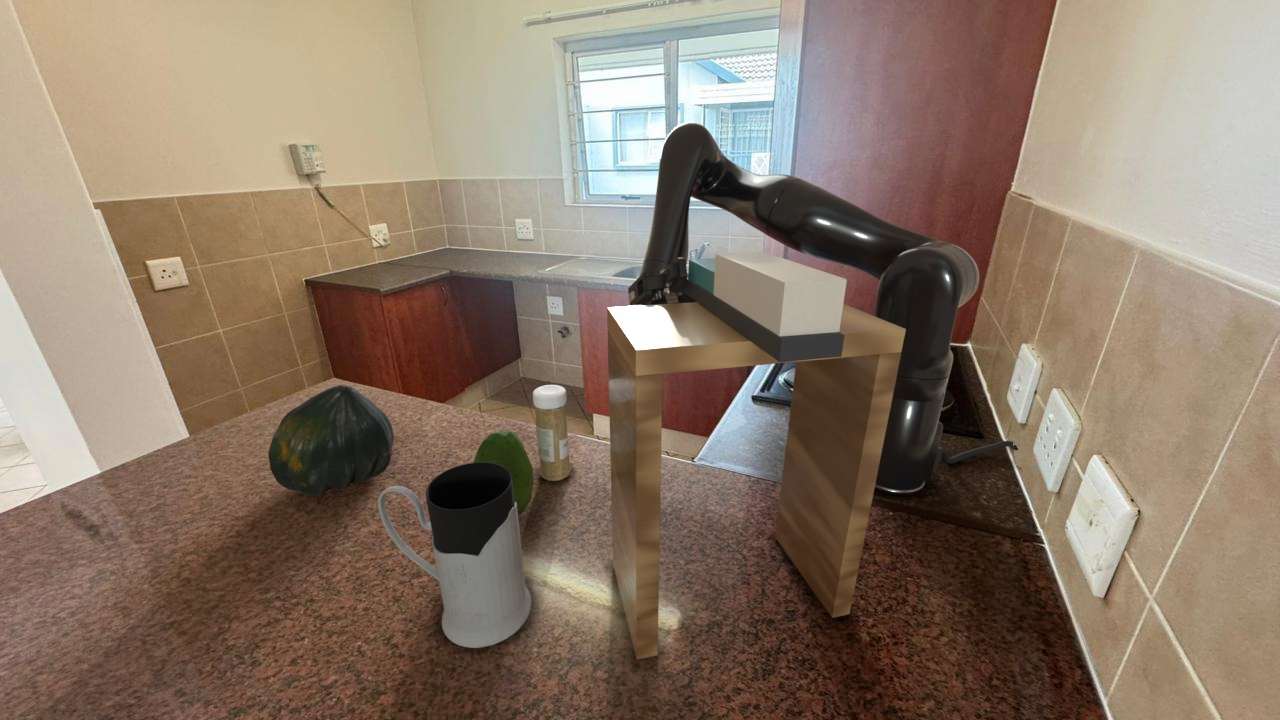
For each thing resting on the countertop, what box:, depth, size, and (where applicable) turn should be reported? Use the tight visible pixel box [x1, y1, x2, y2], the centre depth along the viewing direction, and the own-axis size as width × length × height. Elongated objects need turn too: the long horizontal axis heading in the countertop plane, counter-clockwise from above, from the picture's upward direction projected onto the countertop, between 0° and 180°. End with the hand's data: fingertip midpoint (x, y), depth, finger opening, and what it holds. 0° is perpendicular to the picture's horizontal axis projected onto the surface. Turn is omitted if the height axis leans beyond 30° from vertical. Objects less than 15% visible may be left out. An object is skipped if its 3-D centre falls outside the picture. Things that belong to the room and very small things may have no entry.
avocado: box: [472, 429, 535, 516], centre depth 63 cm, size 8×8×12 cm
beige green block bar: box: [679, 251, 848, 363], centre depth 42 cm, size 5×22×5 cm, turn 13°
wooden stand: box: [606, 302, 906, 660], centre depth 48 cm, size 22×12×30 cm, turn 103°
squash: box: [268, 384, 395, 497], centre depth 70 cm, size 14×15×15 cm
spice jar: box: [532, 384, 572, 482], centre depth 71 cm, size 5×5×14 cm
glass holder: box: [377, 462, 533, 649], centre depth 49 cm, size 9×14×15 cm, turn 80°
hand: (715, 265), depth 48 cm, fingers open, 6 cm apart
